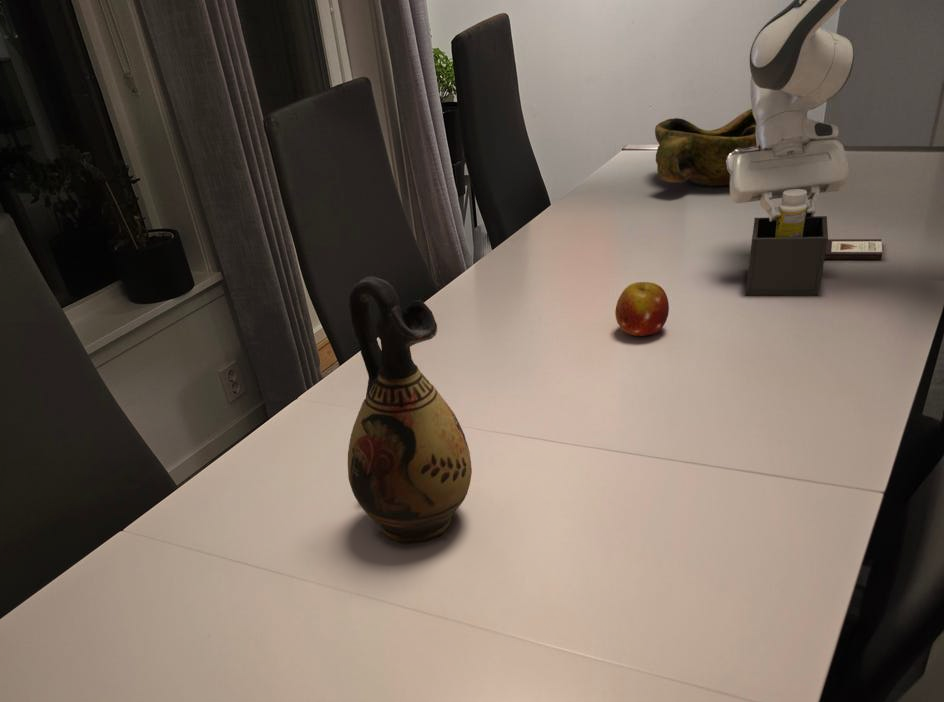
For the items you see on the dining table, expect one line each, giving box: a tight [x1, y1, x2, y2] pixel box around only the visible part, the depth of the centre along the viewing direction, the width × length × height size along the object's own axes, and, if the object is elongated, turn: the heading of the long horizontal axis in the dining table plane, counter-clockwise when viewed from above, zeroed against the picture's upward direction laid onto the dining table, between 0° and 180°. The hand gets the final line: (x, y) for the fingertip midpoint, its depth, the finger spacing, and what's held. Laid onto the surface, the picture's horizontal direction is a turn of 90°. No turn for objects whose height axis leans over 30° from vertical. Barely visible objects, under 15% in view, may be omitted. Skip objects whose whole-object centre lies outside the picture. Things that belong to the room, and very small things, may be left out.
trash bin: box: [745, 215, 829, 296], centre depth 154 cm, size 13×13×10 cm
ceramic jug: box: [347, 275, 473, 545], centre depth 99 cm, size 17×15×30 cm
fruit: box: [614, 281, 670, 337], centre depth 144 cm, size 10×9×8 cm
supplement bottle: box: [775, 189, 807, 238], centre depth 149 cm, size 5×5×8 cm
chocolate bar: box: [824, 238, 883, 260], centre depth 166 cm, size 9×1×18 cm
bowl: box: [654, 108, 757, 187], centre depth 209 cm, size 39×29×15 cm
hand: (792, 217), depth 149 cm, fingers closed on supplement bottle, 5 cm apart
